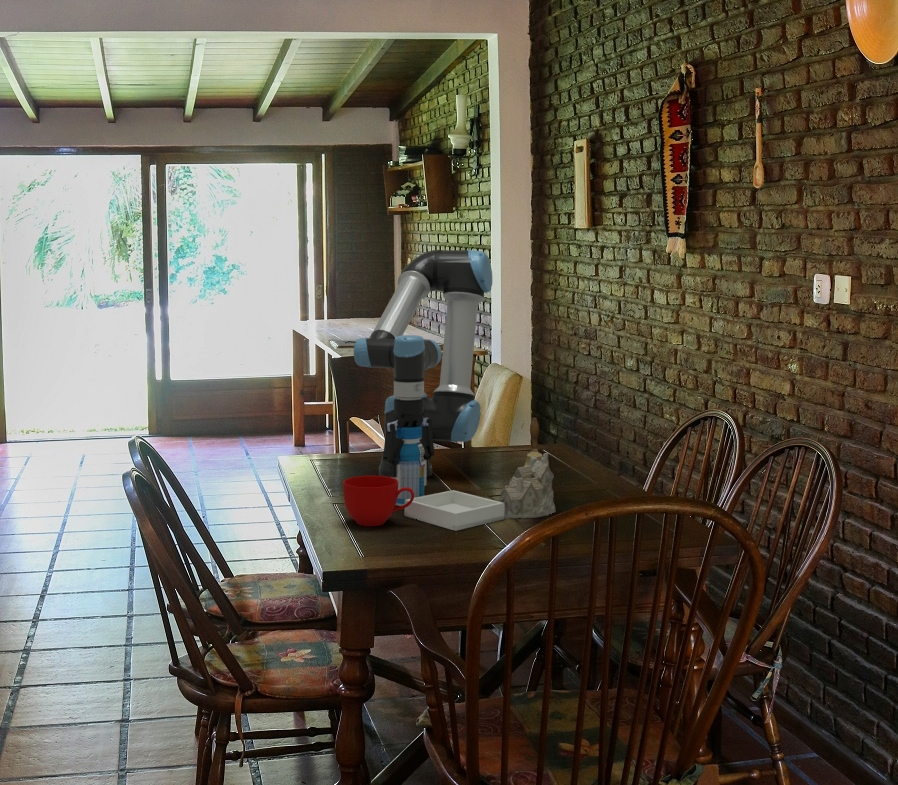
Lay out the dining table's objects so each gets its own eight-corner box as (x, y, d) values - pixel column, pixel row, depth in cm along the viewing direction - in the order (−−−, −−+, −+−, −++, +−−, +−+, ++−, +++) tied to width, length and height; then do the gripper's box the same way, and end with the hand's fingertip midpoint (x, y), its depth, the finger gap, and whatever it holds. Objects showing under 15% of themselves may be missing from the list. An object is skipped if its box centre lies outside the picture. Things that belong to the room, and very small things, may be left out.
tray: (404, 516, 266) (404, 499, 266) (453, 505, 277) (453, 490, 277) (455, 530, 253) (455, 513, 253) (504, 519, 264) (504, 502, 264)
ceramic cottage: (536, 499, 284) (535, 442, 281) (566, 516, 269) (565, 457, 266) (480, 508, 279) (479, 450, 276) (508, 526, 264) (506, 465, 261)
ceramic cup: (408, 532, 252) (408, 489, 250) (336, 528, 255) (336, 485, 253) (419, 518, 264) (419, 477, 263) (351, 514, 267) (351, 474, 266)
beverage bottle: (402, 509, 273) (402, 429, 270) (385, 502, 280) (385, 424, 277) (431, 504, 278) (431, 426, 275) (414, 498, 285) (414, 421, 282)
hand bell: (529, 476, 312) (530, 421, 310) (514, 471, 319) (515, 416, 317) (554, 474, 316) (555, 419, 314) (539, 468, 323) (540, 414, 321)
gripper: (386, 403, 266) (386, 496, 269) (449, 395, 280) (449, 483, 283) (367, 400, 271) (367, 490, 274) (430, 392, 285) (429, 478, 288)
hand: (408, 487), depth 278 cm, fingers closed on beverage bottle, 8 cm apart
